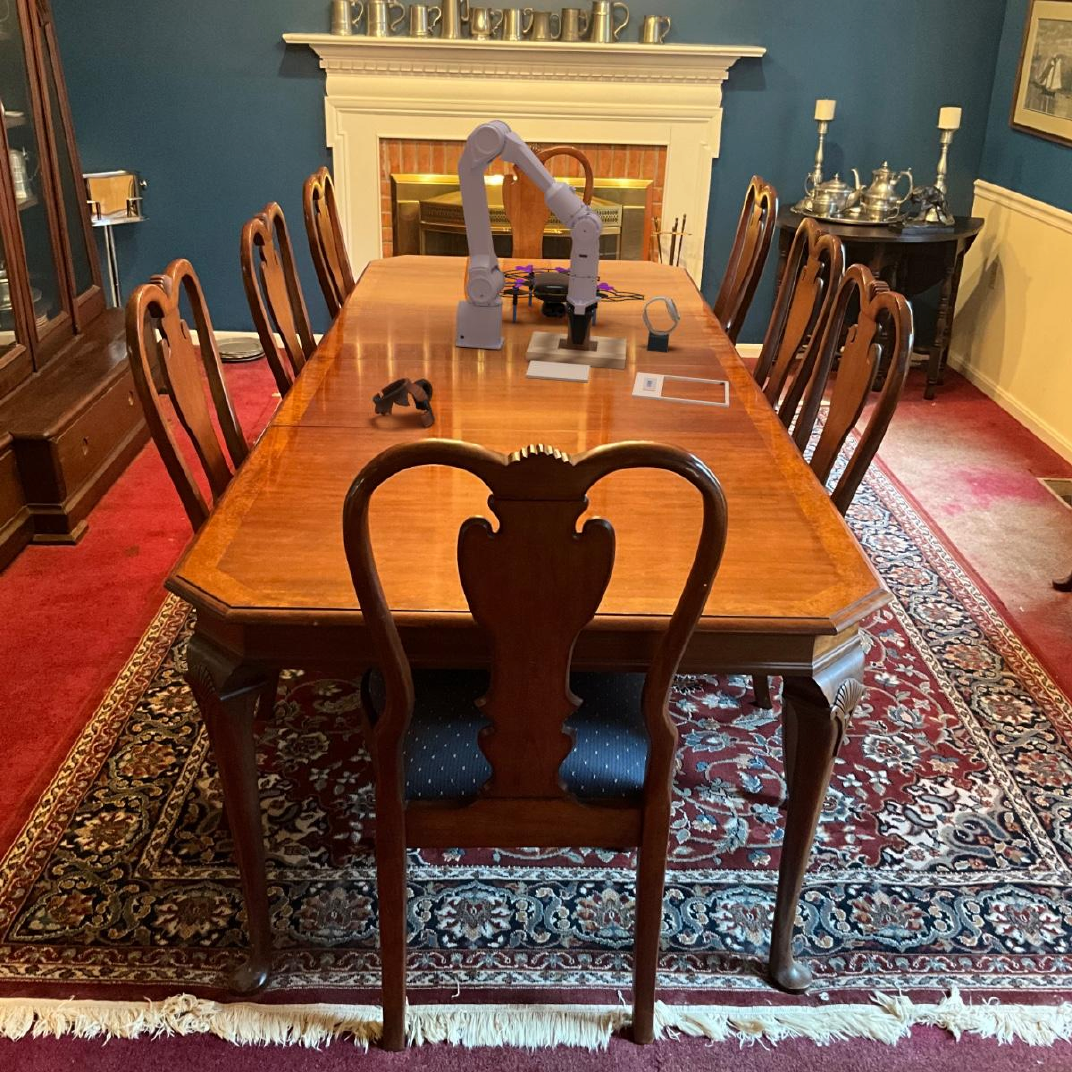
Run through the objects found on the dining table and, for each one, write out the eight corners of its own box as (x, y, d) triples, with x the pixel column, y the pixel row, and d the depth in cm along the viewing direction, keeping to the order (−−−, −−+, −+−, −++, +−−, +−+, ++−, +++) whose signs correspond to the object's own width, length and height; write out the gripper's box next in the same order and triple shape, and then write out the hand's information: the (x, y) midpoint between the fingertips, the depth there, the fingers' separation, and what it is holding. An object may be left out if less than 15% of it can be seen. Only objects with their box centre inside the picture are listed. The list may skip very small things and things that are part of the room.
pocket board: (526, 361, 216) (526, 351, 215) (533, 340, 230) (533, 331, 229) (624, 369, 215) (625, 359, 214) (625, 347, 229) (626, 338, 228)
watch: (676, 353, 228) (682, 302, 223) (638, 349, 228) (643, 298, 224) (676, 346, 233) (682, 296, 228) (640, 342, 233) (645, 292, 229)
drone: (468, 283, 233) (467, 257, 258) (466, 326, 237) (465, 297, 263) (648, 291, 237) (629, 264, 262) (643, 333, 241) (626, 304, 266)
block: (566, 356, 221) (568, 318, 217) (567, 350, 225) (570, 313, 221) (587, 358, 220) (590, 320, 217) (588, 352, 224) (591, 314, 221)
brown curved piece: (423, 437, 175) (397, 395, 172) (382, 449, 181) (356, 408, 177) (456, 400, 183) (432, 359, 180) (416, 412, 189) (392, 373, 186)
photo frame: (637, 371, 211) (728, 380, 209) (636, 376, 212) (727, 386, 210) (632, 393, 198) (729, 404, 196) (631, 399, 199) (728, 409, 197)
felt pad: (525, 377, 206) (525, 375, 206) (530, 362, 215) (530, 360, 215) (587, 382, 205) (587, 380, 205) (589, 367, 214) (590, 365, 214)
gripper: (602, 284, 208) (596, 351, 214) (604, 269, 222) (598, 333, 227) (566, 281, 209) (561, 348, 215) (570, 266, 222) (566, 330, 228)
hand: (578, 340), depth 221 cm, fingers closed on block, 4 cm apart
